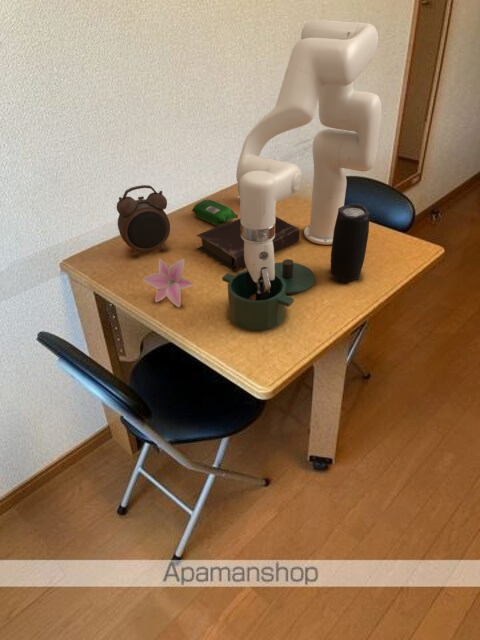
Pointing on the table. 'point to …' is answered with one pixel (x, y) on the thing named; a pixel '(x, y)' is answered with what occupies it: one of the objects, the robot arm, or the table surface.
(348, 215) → the portable speaker
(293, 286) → the pot lid
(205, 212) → the snack package
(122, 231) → the alarm clock
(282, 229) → the diary
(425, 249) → the table surface
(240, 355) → the table surface
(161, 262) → the lily
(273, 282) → the pot
